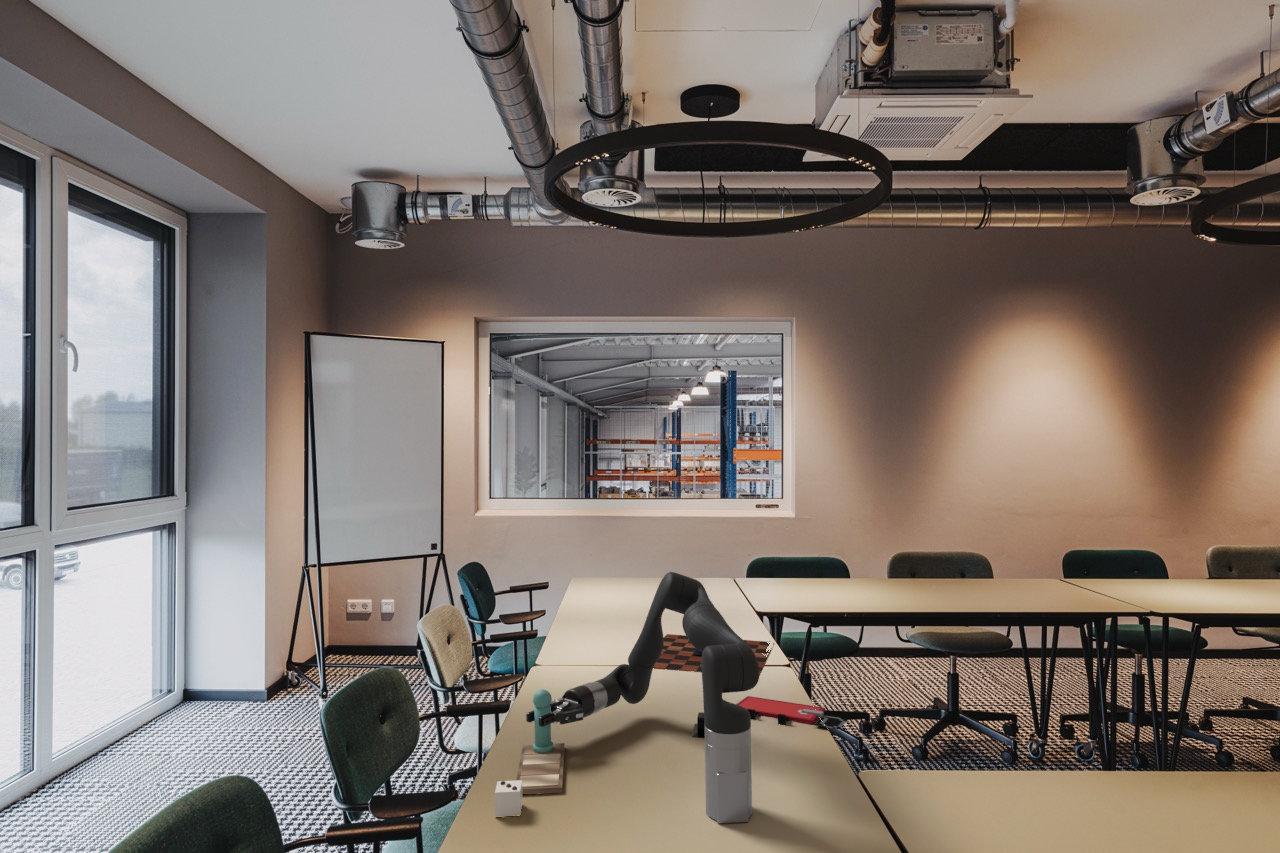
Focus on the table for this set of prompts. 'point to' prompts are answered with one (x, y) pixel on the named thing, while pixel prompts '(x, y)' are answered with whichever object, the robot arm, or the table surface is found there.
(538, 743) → the pawn
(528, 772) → the board
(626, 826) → the table surface
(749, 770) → the robot arm
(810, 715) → the red board with handle
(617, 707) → the table surface
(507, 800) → the die
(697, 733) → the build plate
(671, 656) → the chessboard
